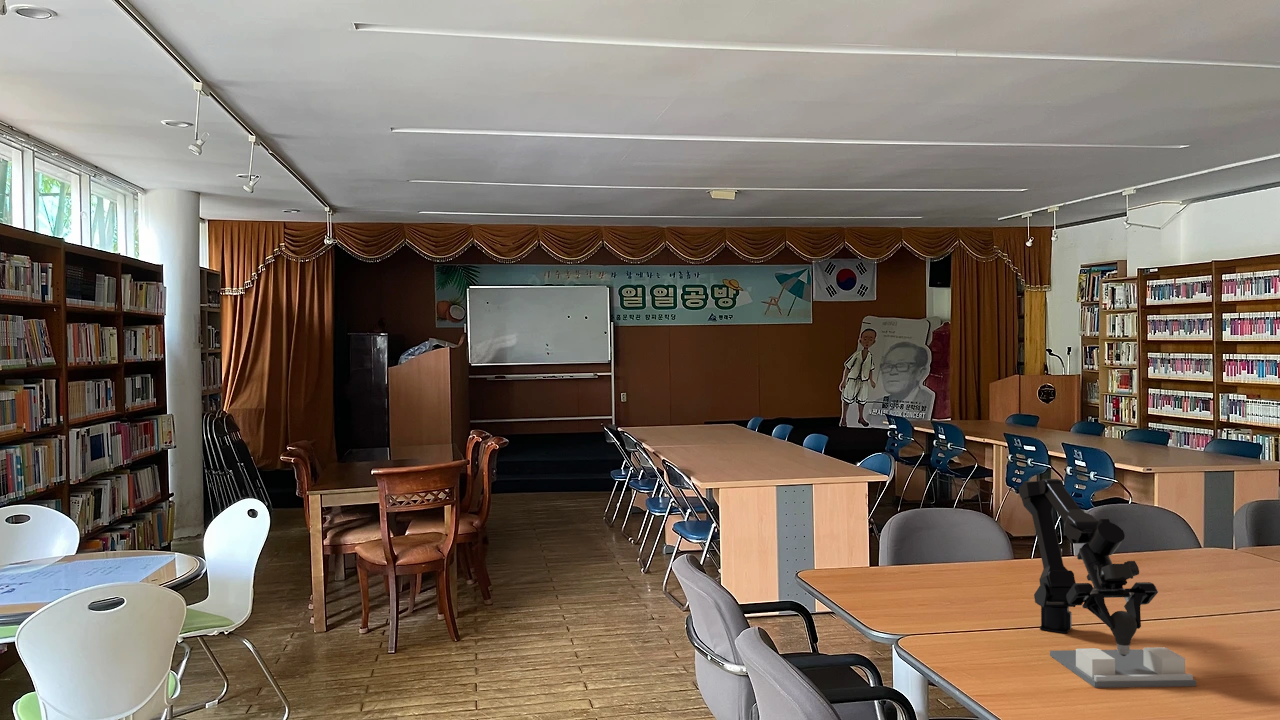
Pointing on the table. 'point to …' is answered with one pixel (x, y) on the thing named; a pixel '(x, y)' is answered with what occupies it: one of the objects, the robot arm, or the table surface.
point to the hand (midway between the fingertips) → (1126, 628)
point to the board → (1126, 667)
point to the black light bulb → (1123, 630)
